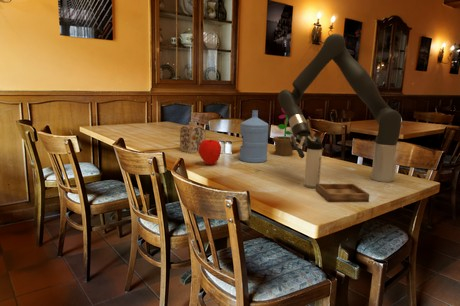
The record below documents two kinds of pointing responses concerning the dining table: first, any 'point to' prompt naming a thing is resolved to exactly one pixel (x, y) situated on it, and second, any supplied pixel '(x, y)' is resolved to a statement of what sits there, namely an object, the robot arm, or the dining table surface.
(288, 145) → the flowerpot
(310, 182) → the travel mug
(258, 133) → the water jug
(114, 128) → the dining table surface
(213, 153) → the apple
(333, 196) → the tray
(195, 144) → the decorative jar
